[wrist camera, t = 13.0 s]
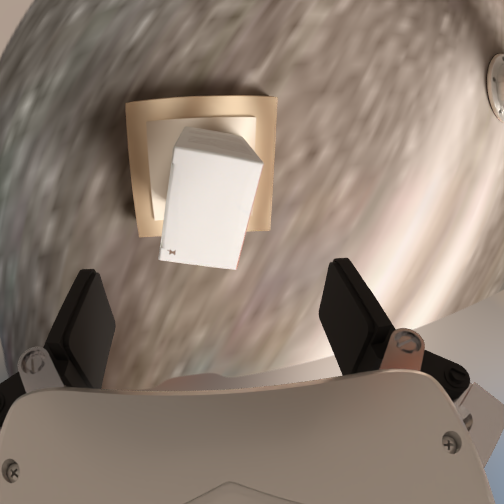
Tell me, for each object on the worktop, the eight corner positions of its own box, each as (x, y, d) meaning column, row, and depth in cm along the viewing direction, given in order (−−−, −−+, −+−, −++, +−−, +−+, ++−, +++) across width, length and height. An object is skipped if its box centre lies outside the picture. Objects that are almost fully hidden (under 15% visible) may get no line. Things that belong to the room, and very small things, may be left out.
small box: (225, 212, 30) (237, 273, 21) (170, 204, 28) (156, 263, 20) (244, 135, 26) (267, 162, 17) (184, 124, 25) (172, 145, 16)
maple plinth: (269, 96, 28) (278, 97, 24) (263, 216, 35) (270, 232, 32) (133, 101, 26) (124, 103, 22) (144, 222, 33) (138, 239, 30)
